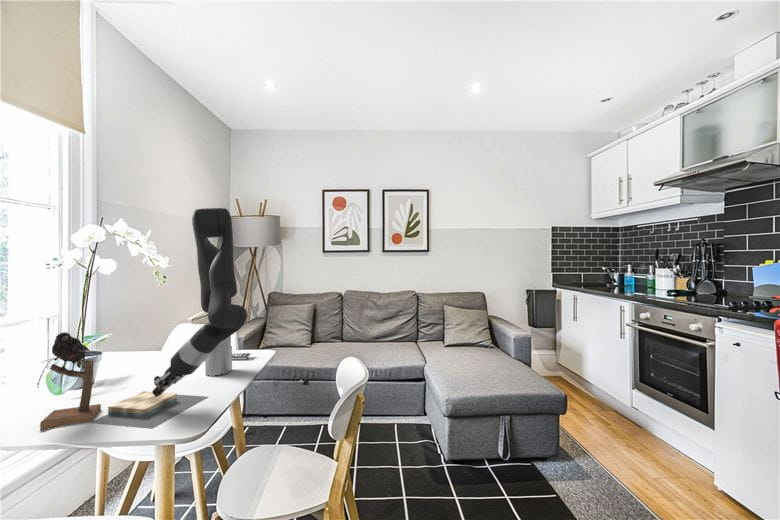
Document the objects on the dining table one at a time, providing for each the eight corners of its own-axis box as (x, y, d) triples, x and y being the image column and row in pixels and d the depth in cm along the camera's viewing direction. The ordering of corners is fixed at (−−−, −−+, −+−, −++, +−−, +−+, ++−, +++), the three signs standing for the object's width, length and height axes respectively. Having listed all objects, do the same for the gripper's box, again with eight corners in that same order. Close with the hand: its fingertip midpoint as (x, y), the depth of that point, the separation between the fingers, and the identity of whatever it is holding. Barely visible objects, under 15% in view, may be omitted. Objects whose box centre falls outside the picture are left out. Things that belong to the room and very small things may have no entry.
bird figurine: (107, 403, 110) (107, 323, 110) (91, 422, 97) (91, 331, 97) (62, 409, 106) (62, 326, 106) (40, 430, 93) (40, 335, 93)
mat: (155, 394, 118) (155, 392, 118) (208, 397, 114) (208, 396, 114) (88, 424, 96) (88, 422, 96) (152, 430, 93) (152, 428, 93)
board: (177, 401, 111) (144, 398, 113) (177, 393, 111) (144, 391, 113) (144, 418, 99) (108, 415, 101) (144, 409, 99) (108, 406, 101)
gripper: (199, 340, 110) (165, 377, 112) (166, 351, 97) (128, 392, 99) (215, 358, 109) (180, 394, 111) (183, 371, 96) (144, 412, 98)
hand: (155, 393), depth 105 cm, fingers closed
